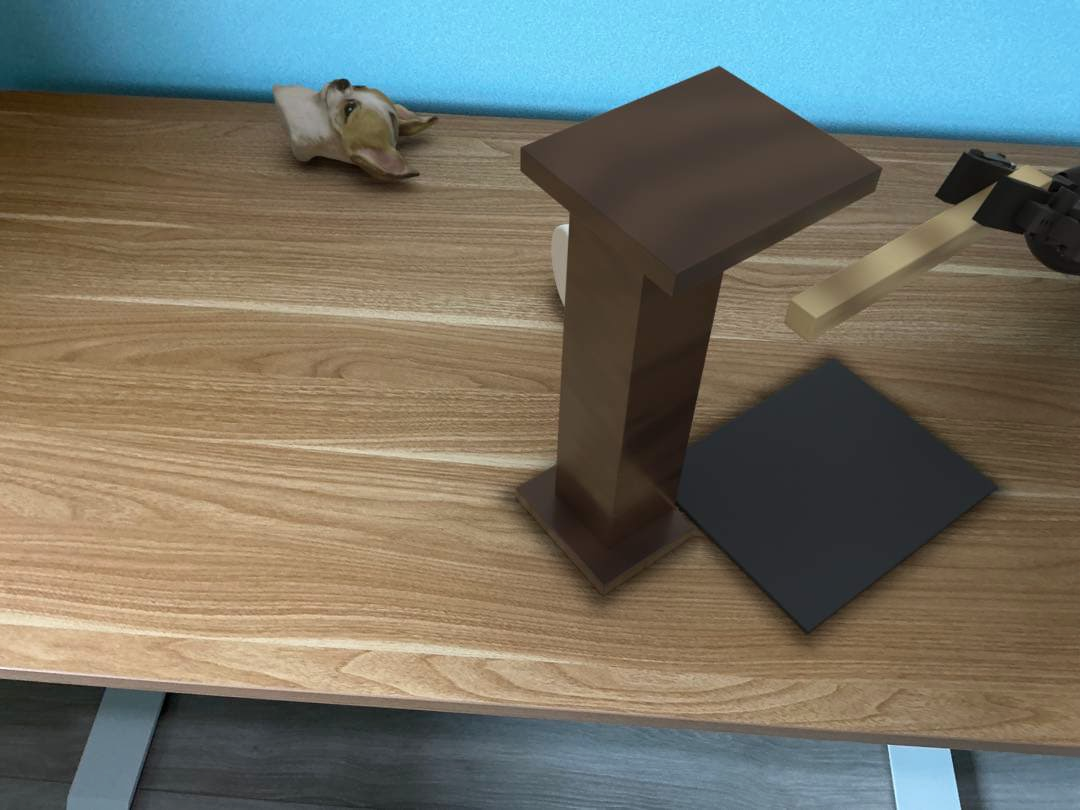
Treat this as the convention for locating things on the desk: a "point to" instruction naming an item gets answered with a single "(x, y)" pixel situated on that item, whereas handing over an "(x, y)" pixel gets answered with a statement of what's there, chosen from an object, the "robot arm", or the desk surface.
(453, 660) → the desk surface
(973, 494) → the mat
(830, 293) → the wooden stick
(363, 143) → the ceramic sculpture
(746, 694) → the desk surface
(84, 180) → the desk surface
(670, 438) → the stand
